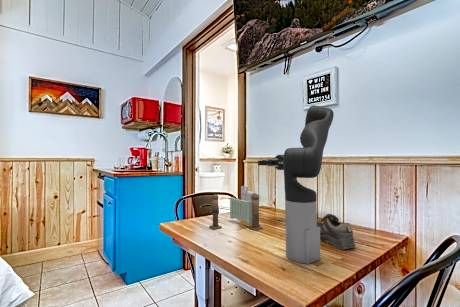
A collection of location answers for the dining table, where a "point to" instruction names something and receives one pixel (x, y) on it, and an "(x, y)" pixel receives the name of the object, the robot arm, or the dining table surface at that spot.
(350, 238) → the hiking shoe
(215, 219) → the post
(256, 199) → the hinge post
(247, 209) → the gate
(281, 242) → the dining table surface
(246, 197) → the ink box
